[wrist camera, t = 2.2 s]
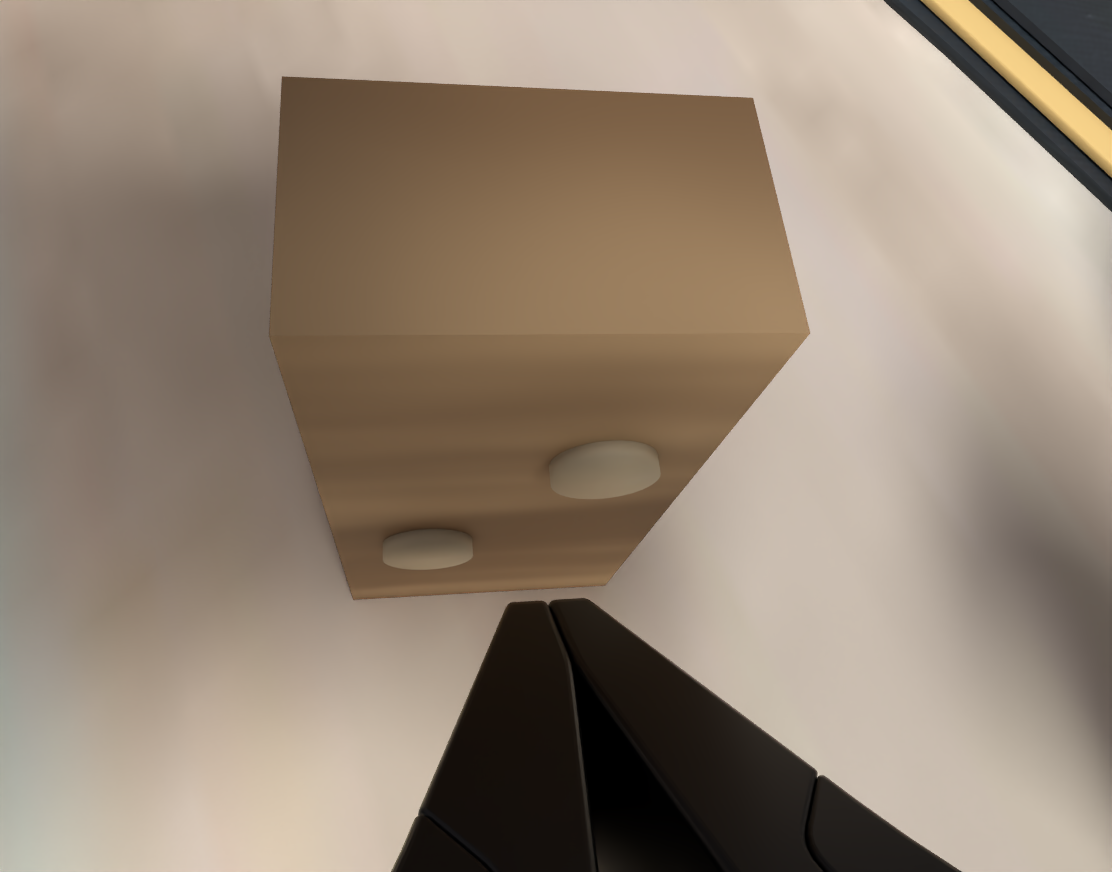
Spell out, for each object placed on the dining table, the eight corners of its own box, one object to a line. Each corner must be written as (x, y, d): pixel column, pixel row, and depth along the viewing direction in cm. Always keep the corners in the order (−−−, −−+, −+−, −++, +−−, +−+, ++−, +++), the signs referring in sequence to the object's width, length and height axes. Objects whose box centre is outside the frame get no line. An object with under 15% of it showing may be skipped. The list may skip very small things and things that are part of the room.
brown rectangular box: (606, 597, 17) (815, 356, 8) (353, 612, 16) (267, 362, 7) (587, 439, 18) (749, 81, 9) (353, 445, 18) (283, 57, 9)
